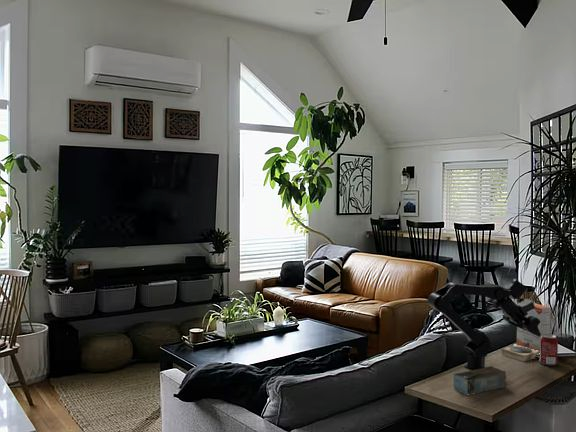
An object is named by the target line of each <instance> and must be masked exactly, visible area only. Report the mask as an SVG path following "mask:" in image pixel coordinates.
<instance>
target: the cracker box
mask: <svg viewBox="0 0 576 432" xmlns="http://www.w3.org/2000/svg"><path fill="white" fill-rule="evenodd" d="M533 303H534V306H535V309H532V310H530V311H528V312H527V313H528V315H527V316H525V317H527V318H528V317H529V316H534V317H536V318H538V319H539V320H540V323H539V325H538V329H539V331H540V333H541V336H540V337H539V336H536V335H534V334H532V333H530V332H528V331H525V330H523V329H521V328H519V327H516V345H520V346H523V347H527V348H530V349H534V350H538V351H540V338H541V337H542V334H551V319H552V318H551V317H552V308H551V307H550V306H546V305H543V304H539V303H535V302H533ZM523 323H524V322H523Z"/></svg>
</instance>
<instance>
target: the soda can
mask: <svg viewBox="0 0 576 432" xmlns="http://www.w3.org/2000/svg"><path fill="white" fill-rule="evenodd" d="M558 343H559V340H558V339H557V335H555V334H551V333H550V334H542V337H541V338H540V357H538V359H539V362H540V363H541V364H542V365H544V366H549V367H550V366H551V367H552V366H556V365H557V364H558V355H559V353H558V350H559V348H558V347H559V344H558Z"/></svg>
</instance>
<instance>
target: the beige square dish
mask: <svg viewBox="0 0 576 432" xmlns="http://www.w3.org/2000/svg"><path fill="white" fill-rule="evenodd" d="M539 353H540V351H536V350H533V349H530V348H526V347H523V346H520V345H517V344H516V345H512V346H507V347H504V348H501V355H503V356H506V357H508V358H511V359H515V360H518V361H520V362H526V361H530V360H533V359H536V358H535V356H536V355H537V354H539Z"/></svg>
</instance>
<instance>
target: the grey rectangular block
mask: <svg viewBox="0 0 576 432" xmlns="http://www.w3.org/2000/svg"><path fill="white" fill-rule="evenodd" d="M506 375H507V374H506V370H502V369H500V368H498V367H494V366H485V368H480V369H476V370H468V371H463V372H458V373H454V374H453V389H454V388H455V389H457V390H456V391H458V390H459V391H458V392H460V391H461V392H460V393H462V392H463V393H462V394H464V393H465V394H464V395H466V394H472V395H474V394H473V393H477V392H481V393H484V392H483V391H486V392H489V390H490V391H493V390H498V389H502V388H503V389H504V388H506V379H507V376H506ZM455 389H454V390H455ZM477 394H478V393H477Z"/></svg>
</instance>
